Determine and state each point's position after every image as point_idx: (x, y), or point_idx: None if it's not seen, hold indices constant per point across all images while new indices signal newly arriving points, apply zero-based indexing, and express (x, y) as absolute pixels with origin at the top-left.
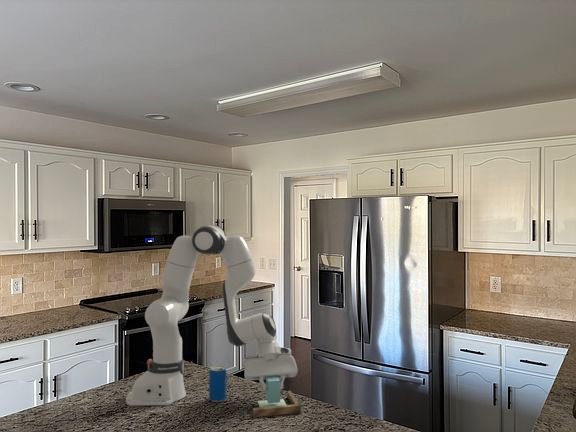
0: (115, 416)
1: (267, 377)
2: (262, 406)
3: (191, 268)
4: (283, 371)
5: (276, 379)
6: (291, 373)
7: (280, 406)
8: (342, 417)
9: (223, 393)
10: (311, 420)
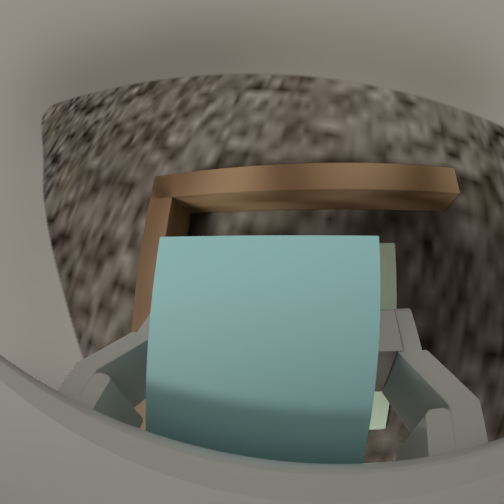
0: None
1: (336, 461)
2: None
3: None
4: (26, 406)
5: (200, 303)
6: (2, 356)
7: (275, 179)
8: (80, 144)
9: None
10: (170, 119)
